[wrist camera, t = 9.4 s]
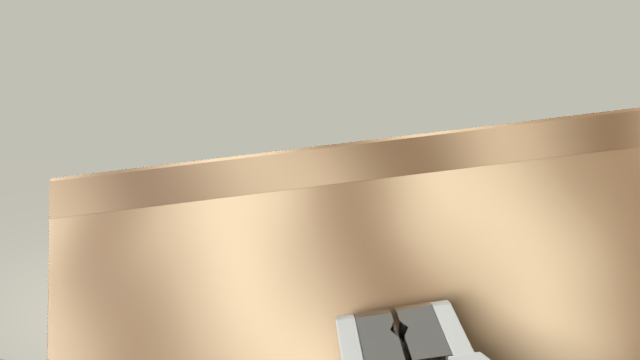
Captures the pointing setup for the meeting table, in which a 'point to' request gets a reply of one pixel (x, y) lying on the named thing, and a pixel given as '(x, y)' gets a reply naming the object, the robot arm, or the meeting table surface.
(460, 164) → the carton flap
